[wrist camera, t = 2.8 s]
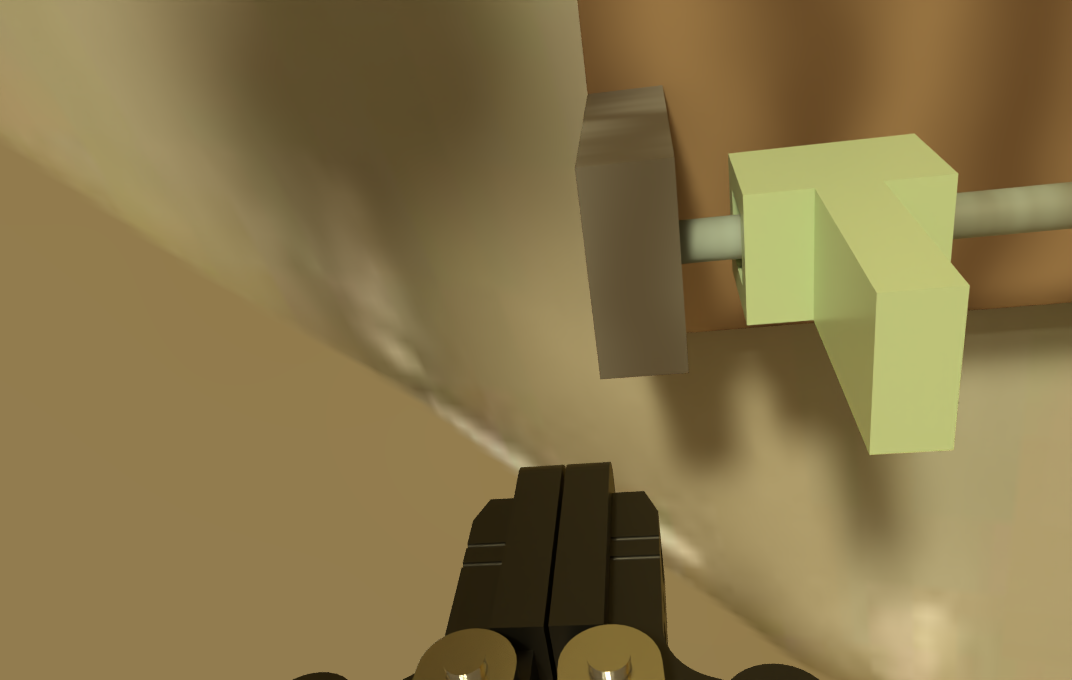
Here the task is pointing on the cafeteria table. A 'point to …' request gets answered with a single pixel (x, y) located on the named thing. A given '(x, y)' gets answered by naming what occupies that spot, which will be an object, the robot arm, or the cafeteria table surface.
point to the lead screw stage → (810, 143)
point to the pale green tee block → (861, 274)
